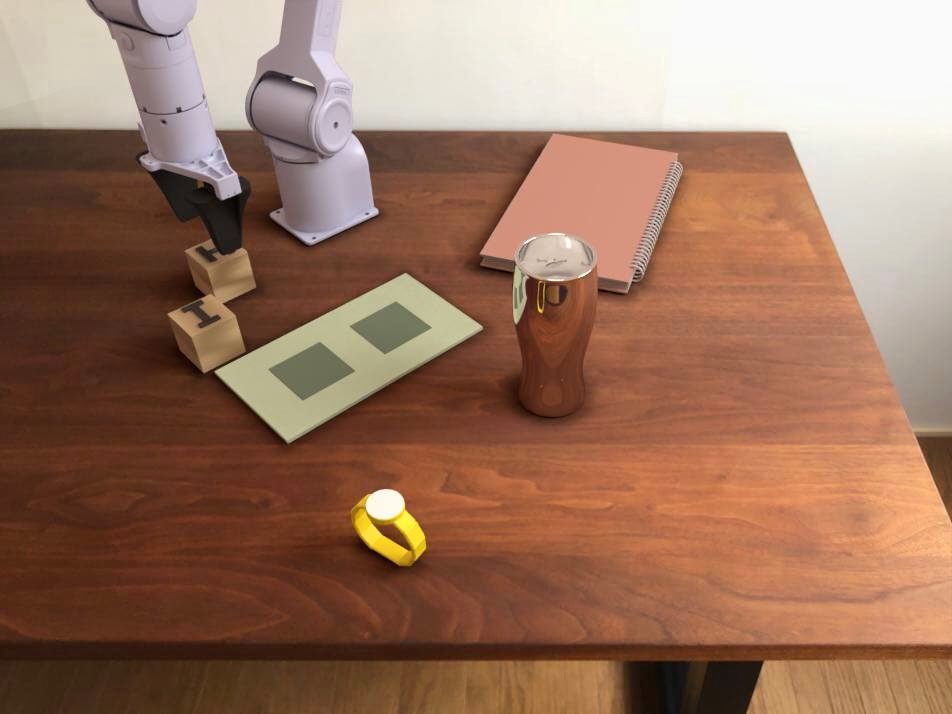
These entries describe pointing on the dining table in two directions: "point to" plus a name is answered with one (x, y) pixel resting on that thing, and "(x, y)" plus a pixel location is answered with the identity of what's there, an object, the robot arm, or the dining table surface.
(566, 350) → the beer glass
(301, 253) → the dining table surface
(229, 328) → the block
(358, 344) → the word mat
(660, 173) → the notebook
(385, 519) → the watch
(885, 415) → the dining table surface
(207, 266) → the block
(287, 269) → the dining table surface
